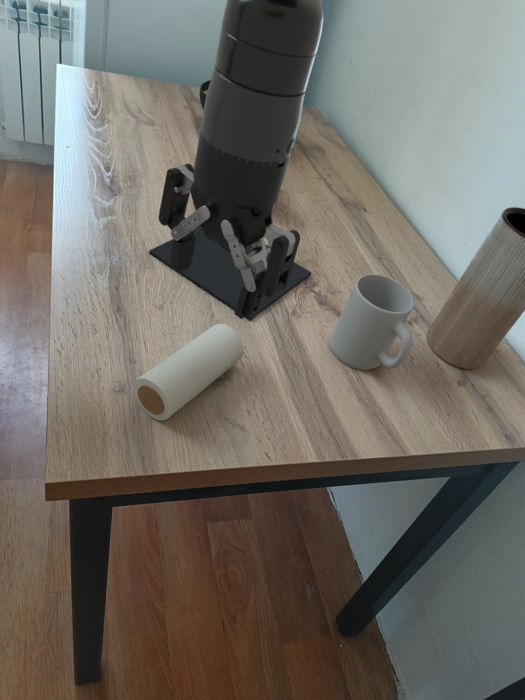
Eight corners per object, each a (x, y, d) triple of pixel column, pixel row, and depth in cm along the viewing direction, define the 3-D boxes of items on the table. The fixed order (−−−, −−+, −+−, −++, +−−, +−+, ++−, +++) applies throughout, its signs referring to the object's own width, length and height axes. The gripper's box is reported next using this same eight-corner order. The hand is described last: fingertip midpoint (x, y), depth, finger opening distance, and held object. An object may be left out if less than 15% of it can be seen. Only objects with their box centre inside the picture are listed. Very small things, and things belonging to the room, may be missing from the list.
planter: (418, 322, 89) (491, 200, 74) (471, 330, 91) (553, 213, 76) (436, 366, 82) (521, 241, 67) (493, 373, 84) (588, 254, 69)
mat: (148, 253, 84) (149, 250, 84) (219, 219, 96) (220, 216, 96) (249, 320, 79) (250, 317, 78) (310, 275, 91) (311, 272, 91)
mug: (317, 335, 80) (343, 276, 73) (361, 325, 84) (389, 270, 77) (363, 394, 74) (397, 337, 66) (408, 381, 78) (444, 326, 70)
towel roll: (130, 402, 63) (133, 370, 59) (207, 345, 73) (215, 314, 69) (165, 430, 61) (171, 398, 58) (239, 368, 71) (249, 338, 67)
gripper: (150, 104, 43) (134, 267, 54) (291, 187, 39) (242, 347, 49) (212, 93, 48) (186, 244, 59) (342, 165, 44) (288, 314, 54)
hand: (211, 291), depth 54 cm, fingers open, 8 cm apart
